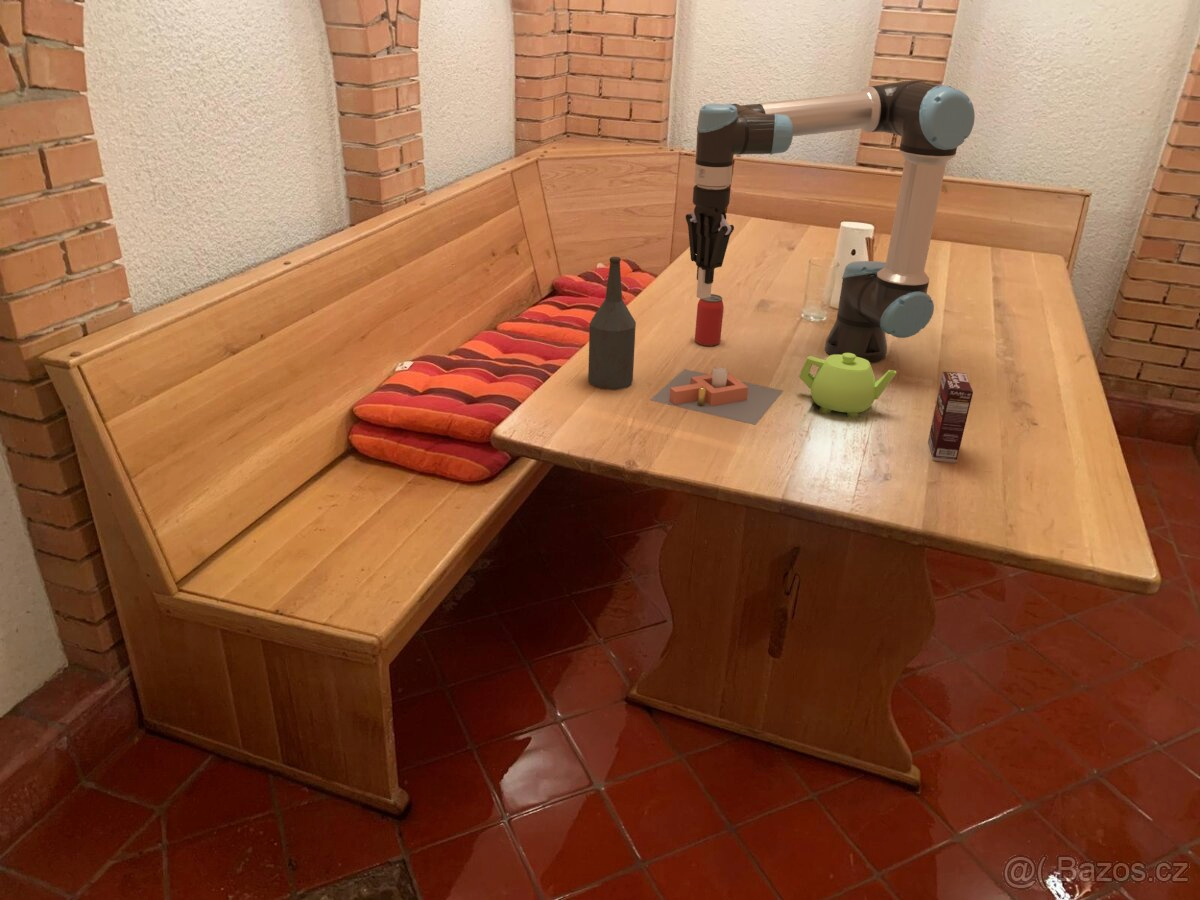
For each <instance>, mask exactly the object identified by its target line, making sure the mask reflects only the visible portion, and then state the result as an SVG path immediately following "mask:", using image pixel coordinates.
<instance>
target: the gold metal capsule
mask: <svg viewBox="0 0 1200 900" xmlns="http://www.w3.org/2000/svg"><path fill="white" fill-rule="evenodd" d="M705 396H706V387H703V386H700V387H699V390H698V401H697V405H698V406H704V405H705Z"/></svg>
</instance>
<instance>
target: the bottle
mask: <svg viewBox="0 0 1200 900" xmlns="http://www.w3.org/2000/svg"><path fill="white" fill-rule="evenodd" d="M621 260H622V258H620V257H619V256H610V258H609V269H608V276H607V282H606V283H607V284H606V291H605V299H604V300H603V302H602V303H601V304H600V306H599V308H598V309H597V310H596V312H595V313H594V316H592V318H591V320H590V321H589V333H588V334H589V336H588V337H589V338H588V374H587V377H588V378H587V379H588V380H587V381H588V384H589V385H590V386H593V387H595V388H597V389H600V390H610V391H616V390H617V391H618V390H622V389H627V388H629V387H631V386H632V384H633V381H634V363H635V360H634V359H635V345H636V325H637V324H636V323H637V322H636V321H635V318H634V317H633V315H632V314H631V311H630V310H629V308H628V307H627V305H626V303H625V302H624V300H623V291H622V274H621V273H622V272H621Z"/></svg>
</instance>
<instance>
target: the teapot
mask: <svg viewBox="0 0 1200 900" xmlns="http://www.w3.org/2000/svg"><path fill="white" fill-rule="evenodd" d="M812 365H813V366H816V367H817V368H818V370H817V371H816V373H815V375H813V374H812V373H810V371H811V369H812ZM896 375H897V371H896V370H894V369H893V370H892V369H888V370H887V371H886V372H885V373H884V374H883V375H882V376H881V377H879V379H878V380H877V381H876V378H875V375H874V371H873V368H872V365H871V363H870V362H869V361H868V360H866V359H863V358H860V357H856V355H855V354H852V353H843V354H842V355H828V356H827V357H826V358H825V359H823V358H819V357H815V356H812V355H808V356H807V358H806V359H805V362H804V364H803V366H802V368H801V371H800V372H799V375H798V378H799V379H800V380H801V381H802V383H804V384H805V385H806V387H808V388H809V389H810V395H811V398H812V400H813V402H814V403H815V404H816V405H817V406H819V408H818V411H819V412H820V413H822V414H830V413H831V411H835V412H841V413H847V416H848V418H852V419H857V418H860V414H859V413H864V412H865V411H867V410H869V408H870V407H871V406H872V405H873V404H874V401H875V400H878V399H879V397H880V396H881V395H882V394H883V392H884V391H885V389H886V388H887V387H888V385H890V383H891V381H892V380H893V379H894V378H895V376H896Z"/></svg>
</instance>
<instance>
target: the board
mask: <svg viewBox="0 0 1200 900" xmlns="http://www.w3.org/2000/svg"><path fill="white" fill-rule="evenodd" d="M727 372H728V369H727V368H725V367H720V366H718V367H713V369H712V373H711V374H712V385H711V386H713V387H714V388H721V387H726V382H727ZM728 373H729V372H728ZM708 374H709V373H704V372H701V371H700V372H699V371H695V370H692V369H691V370H690V369H687V368H684V369H683V370H682V371H680V372H679V373H678V375H676V376H675V377H674V378H673V379H671V381H670V382H669V383H667V384H666V385H665V386H664V387H662V388H661V389H660V390H659V391H658V392H657V393H655V395H654V396H652V397H651V398H650V399H649V401H652V402H657V403H660V404H665V405H669V406H673V407H677V408H682V409H687V410H690V411H694V412H699V413H703V414H707V415H712V416H715V417H719V418H720V417H721V418H724V419H729V420H732V421H737V422H740V423H741V422H742V423H745V424H750V425H755V426H756V425H757V424H758V423H759V422H760V420H761V419H762V418H763V416H764V415H765V414H766V413H767V412H768V410H769V409H770V408H771V407H772V406H773V404H774V403H775V402H776V401H777V399H779V397H780V396H781V394H782V393H783V392H784V390H783V389H778V388H775V387H768V386H764V385H759V384H756V383H750V382H746V381H742V380H739V381H740V382H742V383H743V384H745V385H746V386H747V387H748V395H747V400H743V401H737V402H731V403H725V404H720V405H714V406H710V405H709V404H707V403H706V402H705V405H704V406H698V405H697V401H693V402H687V403H681V404H676V405H674V404H673V403H672V402H671V401H670V400H669V398H670V388H671V387H677V386H684V385H690V381H691V377H696V376H702V375H708Z"/></svg>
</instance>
